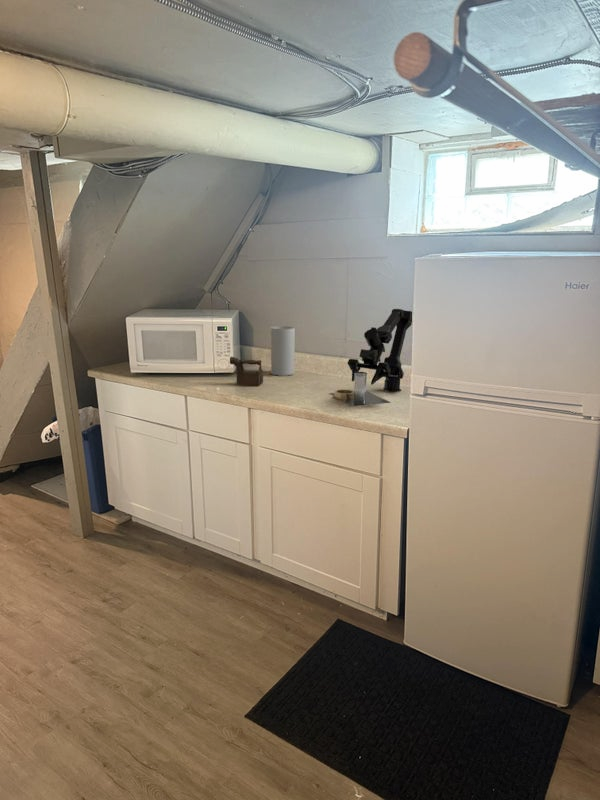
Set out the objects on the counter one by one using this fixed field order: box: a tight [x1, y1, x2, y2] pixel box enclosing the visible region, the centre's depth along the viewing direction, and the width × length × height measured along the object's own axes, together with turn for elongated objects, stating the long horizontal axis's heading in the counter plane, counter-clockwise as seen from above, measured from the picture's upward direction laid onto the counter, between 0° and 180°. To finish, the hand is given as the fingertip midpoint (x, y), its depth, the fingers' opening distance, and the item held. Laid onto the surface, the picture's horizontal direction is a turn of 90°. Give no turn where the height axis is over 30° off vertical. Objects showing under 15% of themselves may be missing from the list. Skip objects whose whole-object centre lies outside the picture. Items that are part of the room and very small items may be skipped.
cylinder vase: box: [270, 325, 296, 377], centre depth 296 cm, size 12×12×25 cm
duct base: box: [328, 389, 392, 407], centre depth 245 cm, size 19×24×3 cm
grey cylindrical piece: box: [353, 371, 368, 404], centre depth 235 cm, size 5×5×13 cm
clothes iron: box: [229, 356, 264, 387], centre depth 273 cm, size 8×16×13 cm, turn 77°
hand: (361, 382), depth 236 cm, fingers open, 9 cm apart
